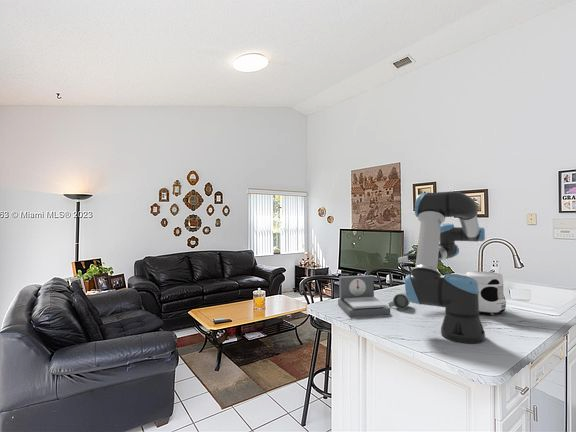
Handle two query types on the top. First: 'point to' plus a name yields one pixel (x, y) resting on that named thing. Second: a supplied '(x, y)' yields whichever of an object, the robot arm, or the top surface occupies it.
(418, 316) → the top surface
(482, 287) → the white rounded piece
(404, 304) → the ceramic mug
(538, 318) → the top surface
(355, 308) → the kitchen scale
